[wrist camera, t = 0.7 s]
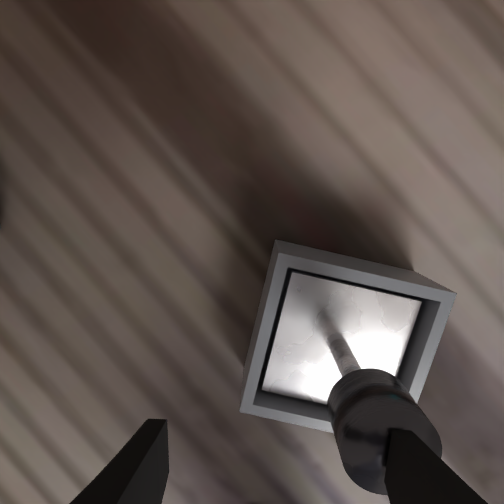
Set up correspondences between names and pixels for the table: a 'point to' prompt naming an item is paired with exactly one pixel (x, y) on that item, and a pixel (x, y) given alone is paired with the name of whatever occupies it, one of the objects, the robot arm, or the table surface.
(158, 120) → the table surface
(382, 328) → the plunger
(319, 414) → the press housing
